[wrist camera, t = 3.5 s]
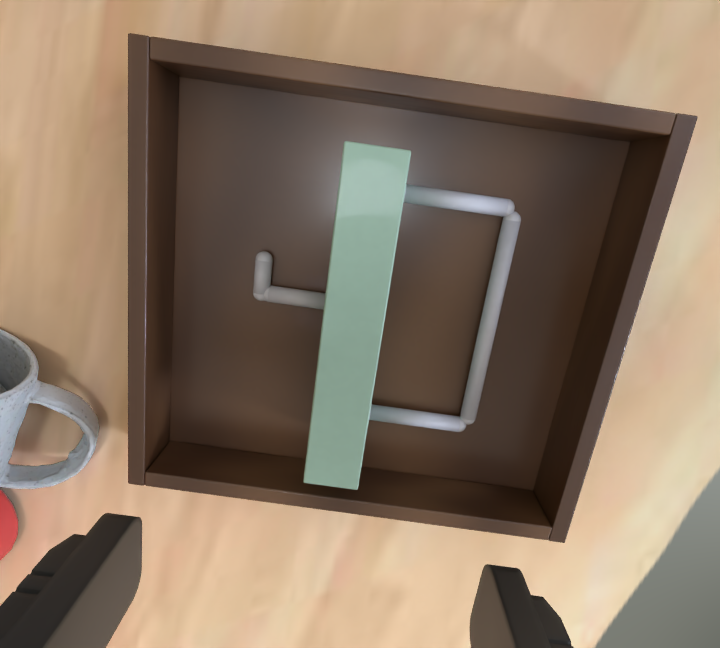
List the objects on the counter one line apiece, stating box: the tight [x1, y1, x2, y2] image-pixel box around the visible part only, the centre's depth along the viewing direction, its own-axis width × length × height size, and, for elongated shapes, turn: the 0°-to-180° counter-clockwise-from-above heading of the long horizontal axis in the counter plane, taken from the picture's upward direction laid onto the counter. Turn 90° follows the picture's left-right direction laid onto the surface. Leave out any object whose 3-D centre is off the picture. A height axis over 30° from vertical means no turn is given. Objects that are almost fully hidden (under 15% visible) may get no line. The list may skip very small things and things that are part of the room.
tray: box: [128, 33, 697, 543], centre depth 22 cm, size 22×20×4 cm
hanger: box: [253, 141, 521, 490], centre depth 21 cm, size 12×14×5 cm
